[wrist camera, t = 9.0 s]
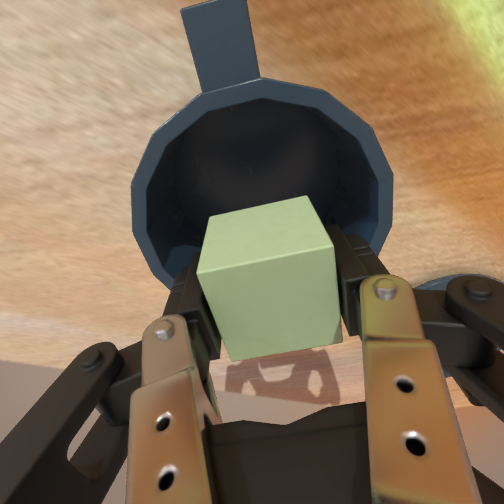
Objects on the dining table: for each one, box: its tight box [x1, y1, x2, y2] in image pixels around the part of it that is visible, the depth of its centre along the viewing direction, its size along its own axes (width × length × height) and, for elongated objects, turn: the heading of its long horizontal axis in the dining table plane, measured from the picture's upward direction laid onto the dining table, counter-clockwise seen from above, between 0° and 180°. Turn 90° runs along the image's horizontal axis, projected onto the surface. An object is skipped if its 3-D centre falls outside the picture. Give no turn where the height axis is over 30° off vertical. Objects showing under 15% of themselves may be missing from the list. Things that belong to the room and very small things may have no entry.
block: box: [196, 196, 343, 362], centre depth 11 cm, size 4×4×4 cm
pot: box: [131, 0, 393, 290], centre depth 18 cm, size 12×18×8 cm
